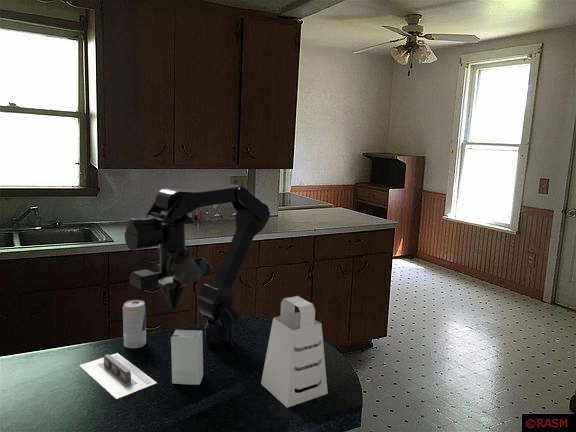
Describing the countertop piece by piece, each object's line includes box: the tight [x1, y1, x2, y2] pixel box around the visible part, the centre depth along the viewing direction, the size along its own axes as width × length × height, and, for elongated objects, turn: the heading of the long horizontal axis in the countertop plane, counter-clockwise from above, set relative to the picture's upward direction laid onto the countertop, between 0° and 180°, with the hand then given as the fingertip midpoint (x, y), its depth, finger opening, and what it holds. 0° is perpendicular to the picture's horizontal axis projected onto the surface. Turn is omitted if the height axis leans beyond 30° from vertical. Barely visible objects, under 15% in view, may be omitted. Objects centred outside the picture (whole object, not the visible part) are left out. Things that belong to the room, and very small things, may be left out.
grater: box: [260, 295, 329, 408], centre depth 99 cm, size 10×10×20 cm
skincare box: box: [170, 329, 204, 386], centre depth 99 cm, size 6×4×12 cm
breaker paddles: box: [104, 353, 131, 384], centre depth 101 cm, size 1×10×2 cm, turn 46°
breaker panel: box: [78, 352, 158, 400], centre depth 101 cm, size 9×18×2 cm, turn 46°
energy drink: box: [122, 299, 147, 349], centre depth 115 cm, size 5×5×12 cm
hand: (172, 308), depth 109 cm, fingers closed
